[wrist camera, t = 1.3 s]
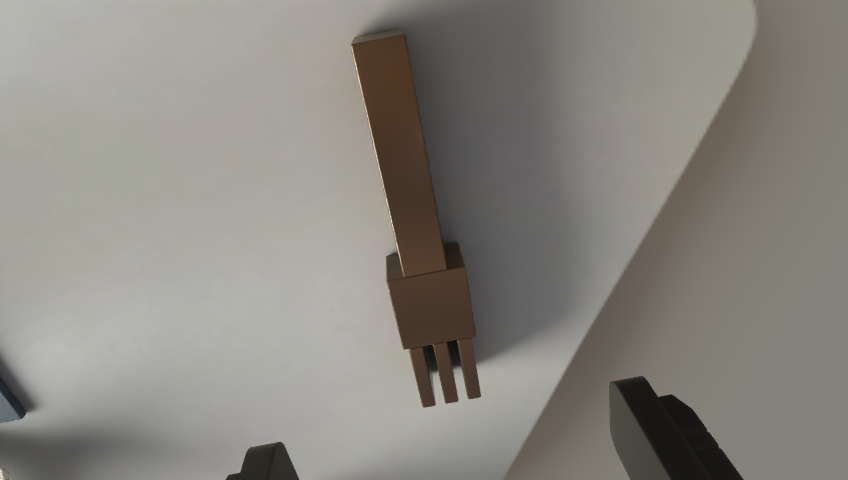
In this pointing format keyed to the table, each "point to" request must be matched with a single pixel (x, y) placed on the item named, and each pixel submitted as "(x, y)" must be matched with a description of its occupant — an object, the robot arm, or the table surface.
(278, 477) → the robot arm
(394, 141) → the fork
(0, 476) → the artificial flower
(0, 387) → the mat
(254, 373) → the table surface
